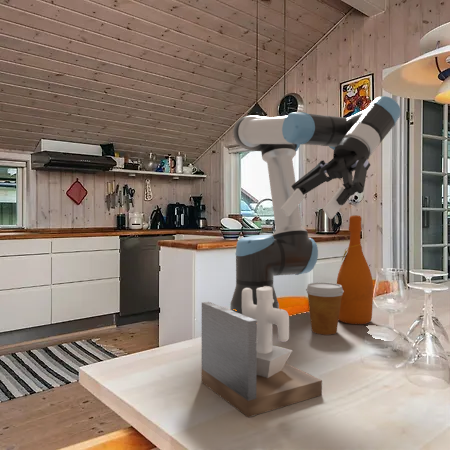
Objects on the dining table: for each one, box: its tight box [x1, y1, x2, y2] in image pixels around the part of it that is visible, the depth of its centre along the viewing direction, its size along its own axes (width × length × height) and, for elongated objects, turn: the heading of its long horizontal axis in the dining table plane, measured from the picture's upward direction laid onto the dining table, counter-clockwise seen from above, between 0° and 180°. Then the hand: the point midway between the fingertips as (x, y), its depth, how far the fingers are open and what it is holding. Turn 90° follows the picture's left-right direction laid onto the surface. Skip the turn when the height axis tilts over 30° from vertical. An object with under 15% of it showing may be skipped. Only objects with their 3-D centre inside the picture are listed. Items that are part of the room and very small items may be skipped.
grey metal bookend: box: [201, 301, 257, 401], centre depth 69 cm, size 2×15×12 cm, turn 31°
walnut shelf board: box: [201, 362, 323, 418], centre depth 73 cm, size 15×15×2 cm
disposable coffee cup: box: [305, 282, 344, 336], centre depth 108 cm, size 10×10×12 cm
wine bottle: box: [336, 214, 374, 325], centre depth 118 cm, size 10×10×30 cm
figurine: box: [242, 286, 293, 378], centre depth 74 cm, size 7×9×15 cm
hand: (304, 213), depth 90 cm, fingers open, 13 cm apart
